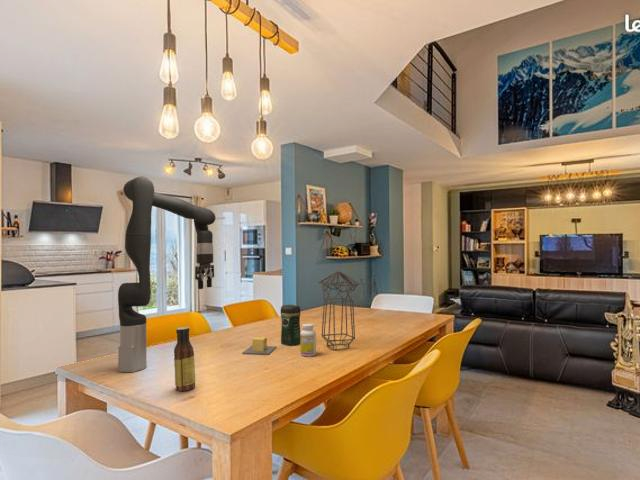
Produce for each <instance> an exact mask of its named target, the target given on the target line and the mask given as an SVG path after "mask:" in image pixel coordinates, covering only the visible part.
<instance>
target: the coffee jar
mask: <svg viewBox="0 0 640 480" xmlns="http://www.w3.org/2000/svg"><path fill="white" fill-rule="evenodd" d="M301 313H302V312H301V306H299V305H296V304H295V305H294V304H284V305H281V307H280V317H281V319H280V320H281V333H280V343H281V344H282V345H285V346H297V345H300V332H301V324H300V321H301V320H300V319H301Z"/></svg>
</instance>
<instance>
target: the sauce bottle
mask: <svg viewBox="0 0 640 480" xmlns="http://www.w3.org/2000/svg"><path fill="white" fill-rule="evenodd" d="M175 333H176V337H177V340H176V344H175V346H174V349H173V356H174V359H173V363H174V366H173V367H174V383H175V384H174V385H175V389H176V391H177V392H179V391H181V392H187V391H190V390H192V389H194V388H195V387H196V370H195V353H194V352H195V351H194V347H193V345H192V344H191V341H190V327H189V326H182V327H181V326H180V327H177V328H176V329H175Z"/></svg>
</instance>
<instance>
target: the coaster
mask: <svg viewBox="0 0 640 480" xmlns="http://www.w3.org/2000/svg"><path fill="white" fill-rule="evenodd" d="M275 349H277V345H276V346H274V345H267V348H266V349H265V350H264V351H253V345H251V346H250V347H248V348H246V349H245V350H244V351H242V353H241V354H242V355H256V356H257V355H259V356H261V355H263V356H266V355H267V356H268V355H270V354H271V353H272V352H274V351H275Z"/></svg>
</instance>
